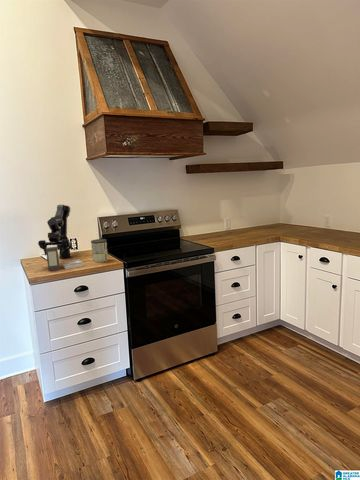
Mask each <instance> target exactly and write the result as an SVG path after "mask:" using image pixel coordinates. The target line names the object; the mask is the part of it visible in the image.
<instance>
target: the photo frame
mask: <svg viewBox="0 0 360 480" xmlns="http://www.w3.org/2000/svg"><path fill="white" fill-rule="evenodd" d="M46 261H47V269H48V272H49V271H57V270H58V271H59V270H60V260H59V250H58V248H57V246H49V247H48V246H47V248H46Z"/></svg>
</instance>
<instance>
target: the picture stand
mask: <svg viewBox="0 0 360 480" xmlns="http://www.w3.org/2000/svg"><path fill="white" fill-rule="evenodd" d="M62 265H63V266H62V267H63V268H64V269H65V270H68V269H69V270H70V269H76V268H83V267H84V262H83V261H81V259H80V258H79V259H74V260H67V261H62Z"/></svg>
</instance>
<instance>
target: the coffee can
mask: <svg viewBox="0 0 360 480" xmlns="http://www.w3.org/2000/svg"><path fill="white" fill-rule="evenodd" d="M90 244H91V253H92V262H93V263H104V261H105V262H107V261H108V260H109V256H108V254H109V253H108V247H107V246H108V243H107V239H105V238H97V239H92V240H90Z"/></svg>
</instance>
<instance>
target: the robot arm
mask: <svg viewBox="0 0 360 480" xmlns="http://www.w3.org/2000/svg"><path fill="white" fill-rule="evenodd" d="M70 213H71V206H69V205H65V204H58V205H56V211H55V215H54V216H51V217H50V219H48V220H47V222H46V223H47V225H48V227H49V229H50V232H47V239H48V241H46V240H45V239H41V240H38V243H37V244H38V246H39V247H38V248H40V249H41V250H43V253H44V256H46V257H47V254H46V248H48V246H56V247H57V249H58V258H60V259H62V260H64V259H68V258H72V255H71V249H72V245H71V241H70V239H69V238H68V217H69V216H70Z"/></svg>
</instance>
